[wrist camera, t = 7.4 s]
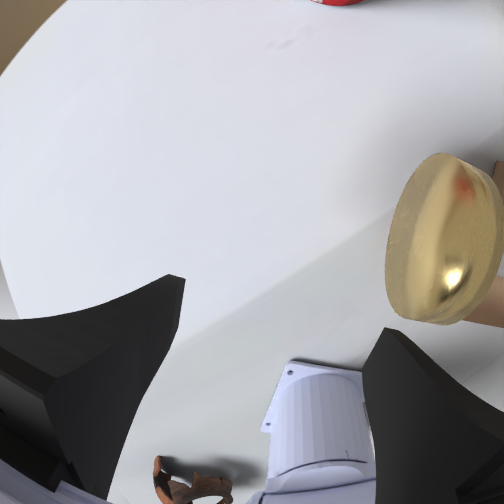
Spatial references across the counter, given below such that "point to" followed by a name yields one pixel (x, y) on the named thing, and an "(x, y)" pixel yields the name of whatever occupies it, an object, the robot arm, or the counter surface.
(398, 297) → the gold disc-headed rod
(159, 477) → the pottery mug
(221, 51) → the counter surface
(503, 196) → the block
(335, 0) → the soda can
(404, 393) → the robot arm
